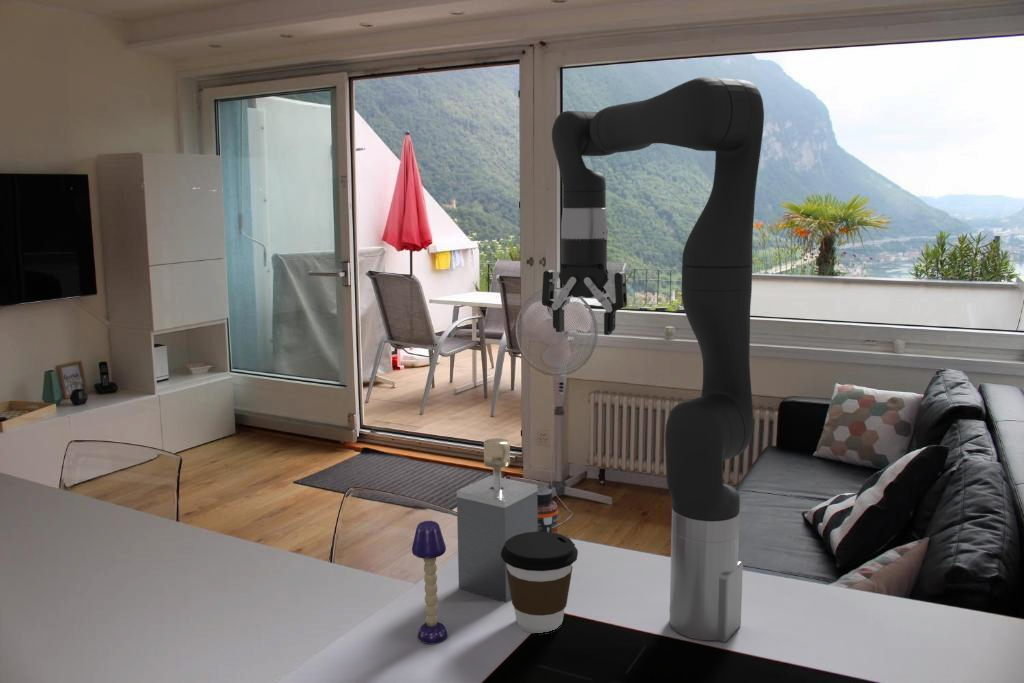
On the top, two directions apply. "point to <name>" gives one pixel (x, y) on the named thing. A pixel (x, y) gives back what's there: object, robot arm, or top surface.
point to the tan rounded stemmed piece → (497, 457)
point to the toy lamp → (430, 578)
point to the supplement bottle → (547, 511)
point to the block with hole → (491, 532)
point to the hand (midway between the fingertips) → (583, 333)
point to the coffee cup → (539, 578)
